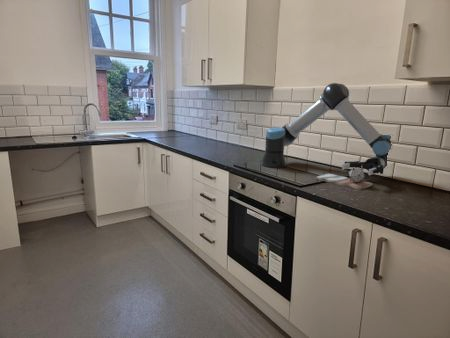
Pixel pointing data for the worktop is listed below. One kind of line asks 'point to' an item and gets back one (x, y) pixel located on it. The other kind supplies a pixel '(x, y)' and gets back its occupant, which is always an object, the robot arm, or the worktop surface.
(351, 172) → the game die
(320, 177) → the game board
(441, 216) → the worktop surface
